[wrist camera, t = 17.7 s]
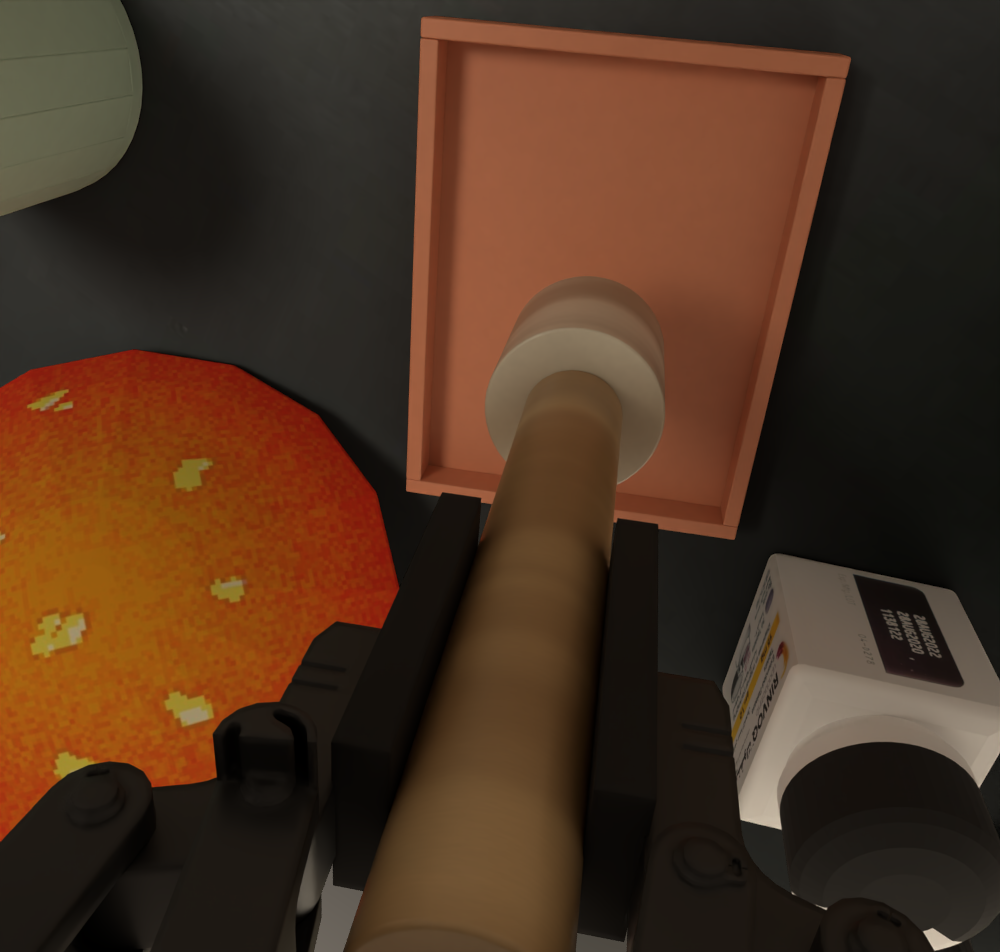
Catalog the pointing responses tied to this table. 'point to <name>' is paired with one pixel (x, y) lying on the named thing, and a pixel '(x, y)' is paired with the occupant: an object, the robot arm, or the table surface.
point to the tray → (613, 233)
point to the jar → (64, 96)
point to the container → (870, 742)
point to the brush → (523, 645)
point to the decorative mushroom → (164, 562)
